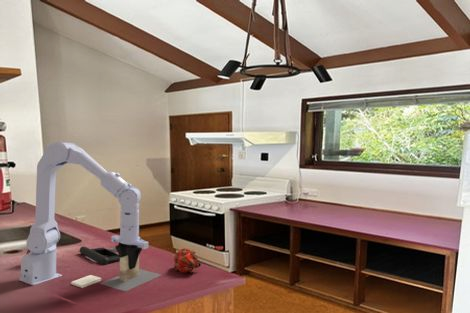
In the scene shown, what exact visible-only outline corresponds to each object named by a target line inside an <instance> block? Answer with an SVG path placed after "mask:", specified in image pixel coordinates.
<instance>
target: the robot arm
mask: <svg viewBox="0 0 470 313" xmlns="http://www.w3.org/2000/svg"><path fill="white" fill-rule="evenodd" d="M66 164H73V165H80V166H82V168H84V169H85V170H86V171H88V172H89V173H91V174H92V175H93V176H95V177H96V178H98V180H100V185H101V186H100V187H102V188H103V189H104V190H106V191H107V192H109V193H110V194H111V195H112V196H114V197H115V198H116V199H117V200H118V203H119V205H120V226H119V229H120V232H119V234H120V235H118V234H115V235H111V237H110V239H111V240H110V242H111V243H118V244H117V245H115V247H114V248H116V250H117V252H116V253H117V254H118V255H119V256H120V258H121V257H124V256H127V255H128V265H129V269H133V268H135V266H136V263H137V259H138V256H139V257H140V254H141V252H142V250H146V249H149V241H146V240H144V239H142V238H141V236H139V234H140V203H139V202H140V201H141V200H142V199H141V198H142V193H141V190H140V189H139V188H138V187H137V186H132V184H131V183H130V182H127V181H126V180H124V179H123V178H122V177H121V174H120V173H119V172H115V171H107V170H106V169H105V168H104V167H103V166H102V165H101V164H100V163H98V161H96V160H95V159H94V158H93V157H92V156H91V155H90V154H89V153H87V152H86V151H85V150H84V149H83V148H82V147H80V146H78V145H77V144H76V143H74V142H70V141H68V142H67V141H66V142H60V141H55V142H52V143H51V144H50V145H48V146H46V147H45V148H44V152H43V155H41V158H40V159H39V161H38V162H37V165H36V185H35V186H36V190H35V192H36V193H35V220H34V222H33V224H32V225H31V227H30V229H29V235H28V237H27V239H26V241H25V242H26V247H27V250H28V249H29V250H30V251H31V252H30V253H29V254H27V255H26V254H25V255H23V256H22V258H21V259H20V278H19V281H20V282H23V283H25V284H28V285H33V286H35V285H38V284H41V283H44V282H47V281H50V280H54V279H55V278H59V277H62V276H63V274H61V273H58V272H57V244H58V243H59V241H60V239H61V232H60V231H59V228H58V227H59V226H58V221H56V219H55V214H56V210H55V209H56V187H57V186H56V181H57V170H59V169H61V168H62V167H63V166H64V165H66Z"/></svg>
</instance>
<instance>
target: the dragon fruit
mask: <svg viewBox="0 0 470 313" xmlns="http://www.w3.org/2000/svg"><path fill="white" fill-rule="evenodd" d="M198 259H199V257H198V256H197V255H196V252H195V250H191V249H190V248H188V247H185V248H181V249H179V250H178V251H177V252H176V254H175V255H174V257H173V262H174V263H173V264H174V270H175V271H179V272H180V273H181V274H182V273H184V274H185V275H188V274H187V273H188V272H189V273H193V272H195V271H196V269H198V268H200V267H201V265H202V263H201V262H200V261H199V260H198Z"/></svg>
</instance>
